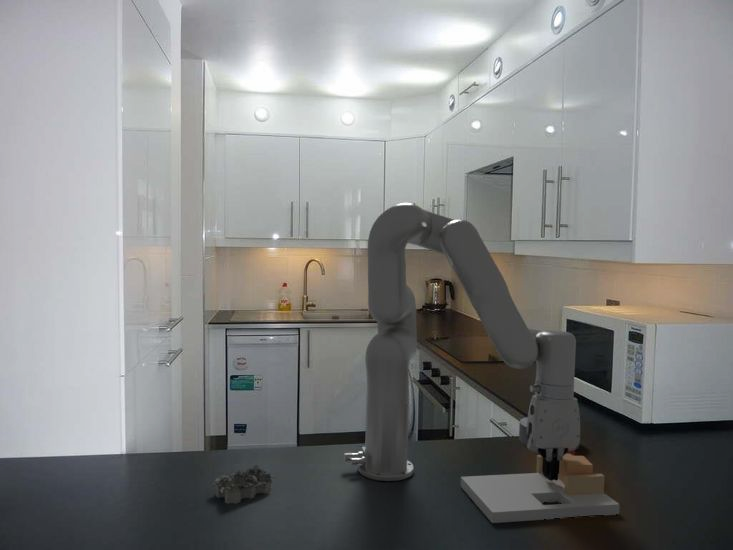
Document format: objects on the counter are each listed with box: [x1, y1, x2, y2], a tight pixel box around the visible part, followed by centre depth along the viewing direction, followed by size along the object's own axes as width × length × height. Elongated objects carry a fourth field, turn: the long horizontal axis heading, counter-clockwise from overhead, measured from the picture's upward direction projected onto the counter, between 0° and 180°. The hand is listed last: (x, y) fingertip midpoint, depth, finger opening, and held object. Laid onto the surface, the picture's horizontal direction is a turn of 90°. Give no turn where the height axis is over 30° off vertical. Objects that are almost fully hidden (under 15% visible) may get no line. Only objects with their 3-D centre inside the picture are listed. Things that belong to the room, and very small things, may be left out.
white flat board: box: [460, 454, 620, 524], centre depth 109 cm, size 26×17×6 cm, turn 101°
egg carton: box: [213, 464, 276, 504], centre depth 108 cm, size 11×8×4 cm
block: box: [559, 455, 594, 485], centre depth 112 cm, size 5×5×5 cm
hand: (550, 477), depth 112 cm, fingers closed
